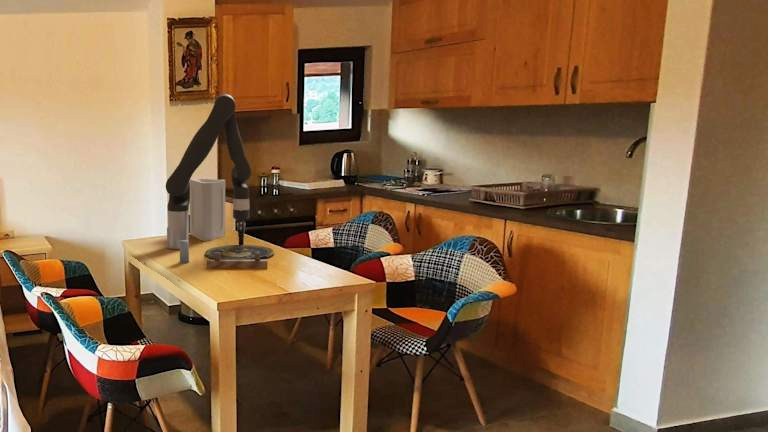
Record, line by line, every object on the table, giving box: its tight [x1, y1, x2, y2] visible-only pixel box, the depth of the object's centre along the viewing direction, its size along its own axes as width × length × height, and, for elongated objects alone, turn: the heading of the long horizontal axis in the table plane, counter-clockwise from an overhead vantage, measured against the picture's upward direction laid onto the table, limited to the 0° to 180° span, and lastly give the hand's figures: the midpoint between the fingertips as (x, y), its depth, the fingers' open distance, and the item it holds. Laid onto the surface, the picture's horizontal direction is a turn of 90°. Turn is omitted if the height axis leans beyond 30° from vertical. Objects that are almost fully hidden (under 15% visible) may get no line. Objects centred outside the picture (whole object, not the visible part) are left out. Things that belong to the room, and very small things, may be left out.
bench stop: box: [206, 253, 268, 269], centre depth 278 cm, size 24×3×6 cm, turn 100°
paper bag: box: [189, 178, 226, 242], centre depth 339 cm, size 19×15×28 cm
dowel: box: [179, 240, 190, 264], centre depth 283 cm, size 4×4×9 cm
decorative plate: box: [204, 244, 275, 260], centre depth 302 cm, size 30×2×30 cm
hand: (241, 244), depth 318 cm, fingers closed
